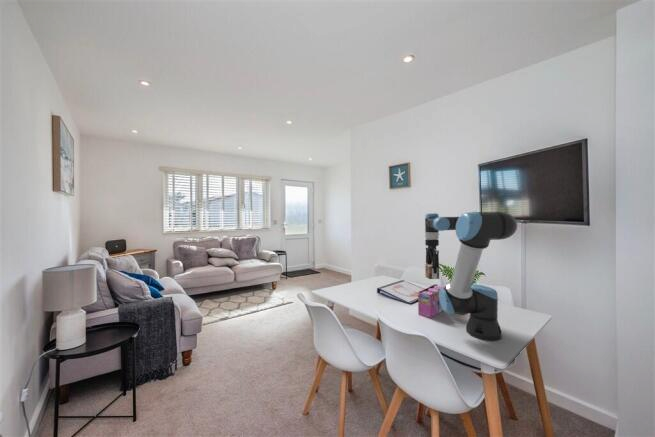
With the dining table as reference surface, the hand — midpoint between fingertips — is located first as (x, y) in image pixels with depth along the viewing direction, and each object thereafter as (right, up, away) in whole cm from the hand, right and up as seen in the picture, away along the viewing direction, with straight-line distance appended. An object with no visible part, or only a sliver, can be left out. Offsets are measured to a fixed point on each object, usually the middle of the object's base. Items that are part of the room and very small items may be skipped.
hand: (432, 277), depth 161 cm
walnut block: (0, 0, 0) cm, 0 cm away
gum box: (+1, -21, 0) cm, 21 cm away
